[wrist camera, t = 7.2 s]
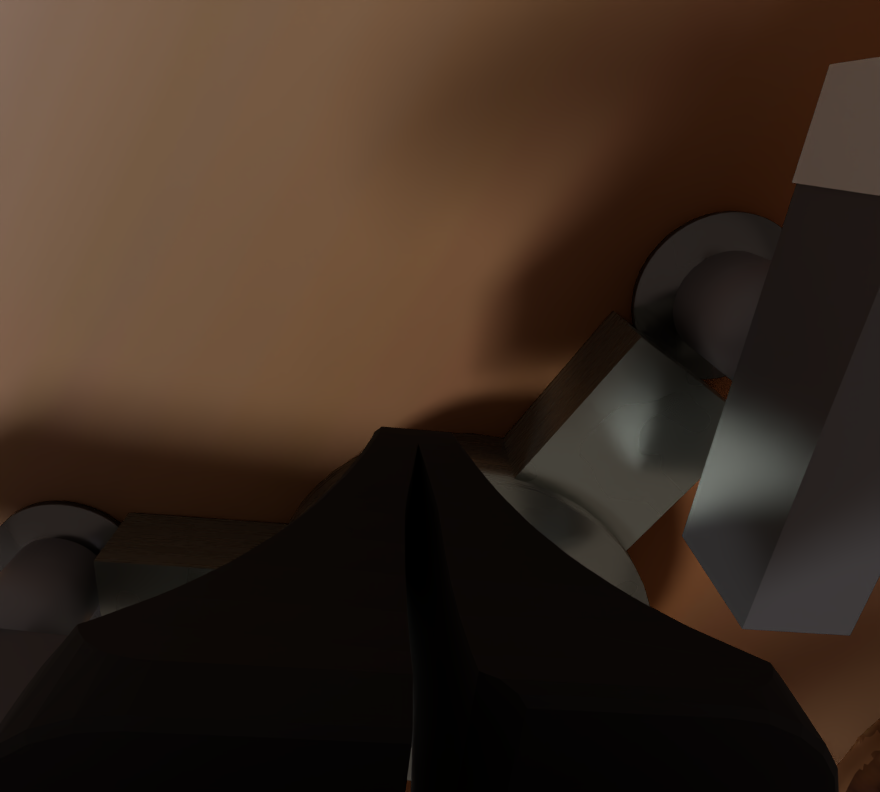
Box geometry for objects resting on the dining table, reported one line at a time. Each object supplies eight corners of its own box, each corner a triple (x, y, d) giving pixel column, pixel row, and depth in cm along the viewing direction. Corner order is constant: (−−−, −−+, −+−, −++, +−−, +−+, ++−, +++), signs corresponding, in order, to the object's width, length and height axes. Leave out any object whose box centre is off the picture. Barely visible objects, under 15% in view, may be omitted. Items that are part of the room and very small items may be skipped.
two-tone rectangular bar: (720, 474, 14) (864, 638, 10) (629, 467, 14) (731, 630, 10) (849, 91, 11) (1154, 66, 7) (734, 76, 11) (963, 40, 6)
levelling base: (609, 835, 21) (641, 955, 18) (53, 817, 19) (-14, 944, 16) (824, 221, 13) (949, 250, 10) (-98, 113, 11) (-282, 109, 8)
